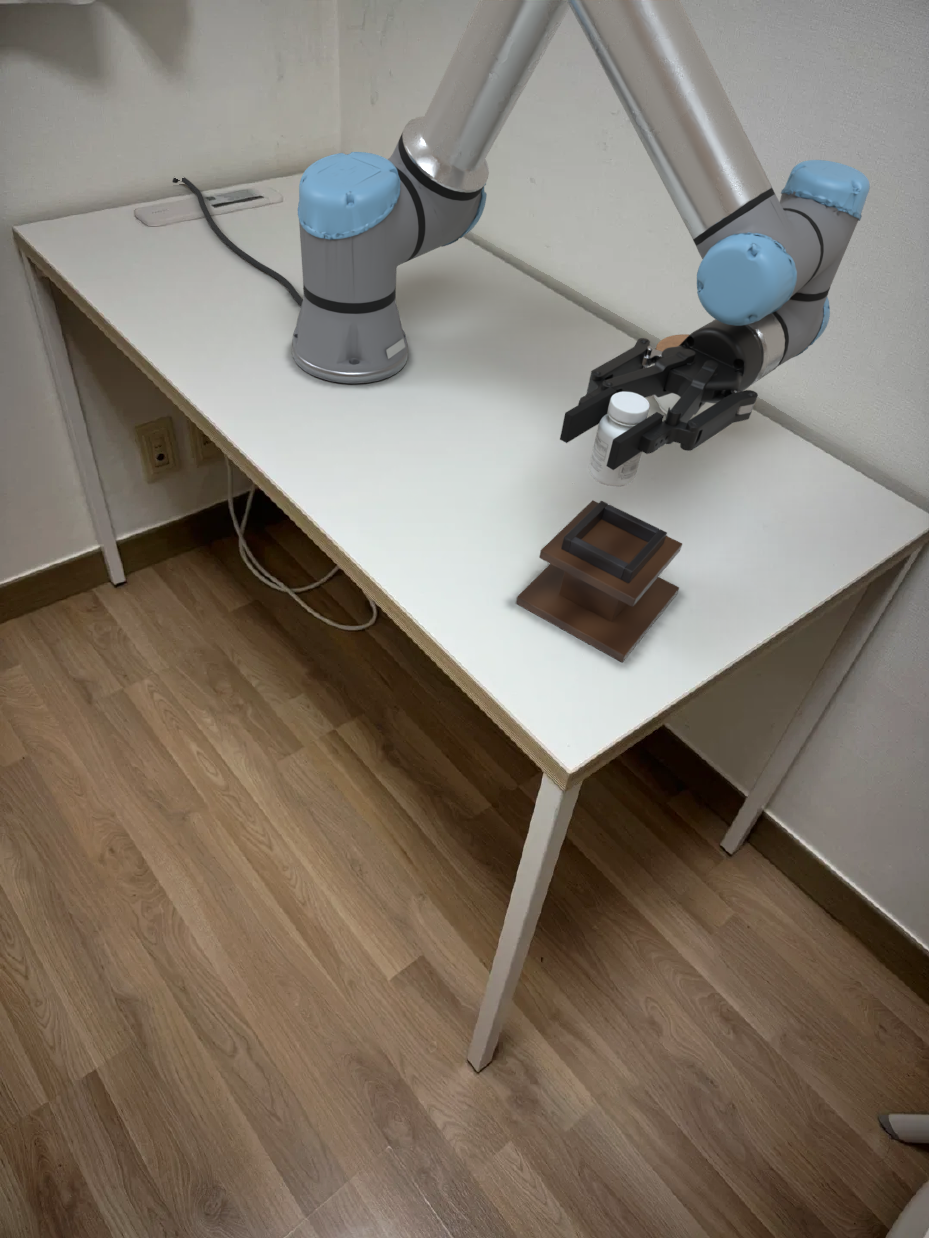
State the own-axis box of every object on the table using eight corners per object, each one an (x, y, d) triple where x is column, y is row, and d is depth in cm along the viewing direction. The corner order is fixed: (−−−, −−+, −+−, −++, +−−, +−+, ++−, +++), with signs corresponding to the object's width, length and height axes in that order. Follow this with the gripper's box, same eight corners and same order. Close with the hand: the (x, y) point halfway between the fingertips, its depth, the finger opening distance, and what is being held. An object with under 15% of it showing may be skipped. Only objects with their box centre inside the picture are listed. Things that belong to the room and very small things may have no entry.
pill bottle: (638, 467, 80) (659, 395, 74) (629, 493, 77) (650, 420, 71) (593, 455, 80) (610, 383, 75) (583, 480, 77) (600, 407, 72)
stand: (515, 603, 83) (527, 538, 77) (576, 543, 90) (592, 478, 84) (622, 662, 79) (644, 598, 72) (677, 594, 86) (701, 530, 80)
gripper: (793, 425, 83) (662, 525, 70) (648, 354, 91) (506, 433, 78) (822, 356, 78) (687, 451, 65) (666, 286, 85) (517, 359, 72)
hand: (589, 441), depth 71 cm, fingers closed on pill bottle, 4 cm apart
